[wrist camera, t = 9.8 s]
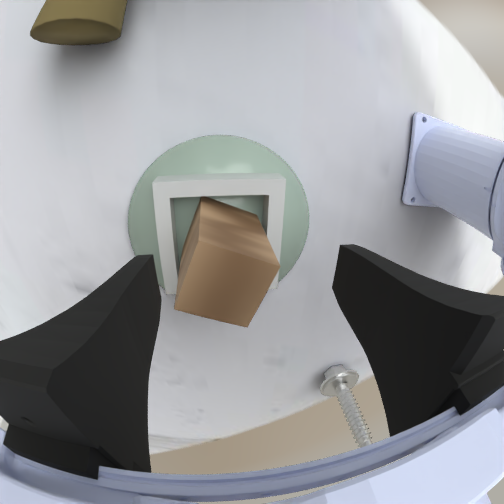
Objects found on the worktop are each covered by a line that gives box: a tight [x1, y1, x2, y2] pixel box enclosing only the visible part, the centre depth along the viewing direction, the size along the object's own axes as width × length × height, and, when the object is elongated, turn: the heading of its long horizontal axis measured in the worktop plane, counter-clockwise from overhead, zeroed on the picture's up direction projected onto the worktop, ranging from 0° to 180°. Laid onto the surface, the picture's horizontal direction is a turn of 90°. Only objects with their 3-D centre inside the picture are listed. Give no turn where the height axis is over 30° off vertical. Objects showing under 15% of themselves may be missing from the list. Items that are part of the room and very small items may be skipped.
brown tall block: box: [174, 196, 281, 327], centre depth 16 cm, size 4×4×7 cm
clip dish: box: [128, 135, 309, 295], centre depth 19 cm, size 13×13×2 cm
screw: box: [320, 365, 373, 448], centre depth 25 cm, size 13×5×5 cm
